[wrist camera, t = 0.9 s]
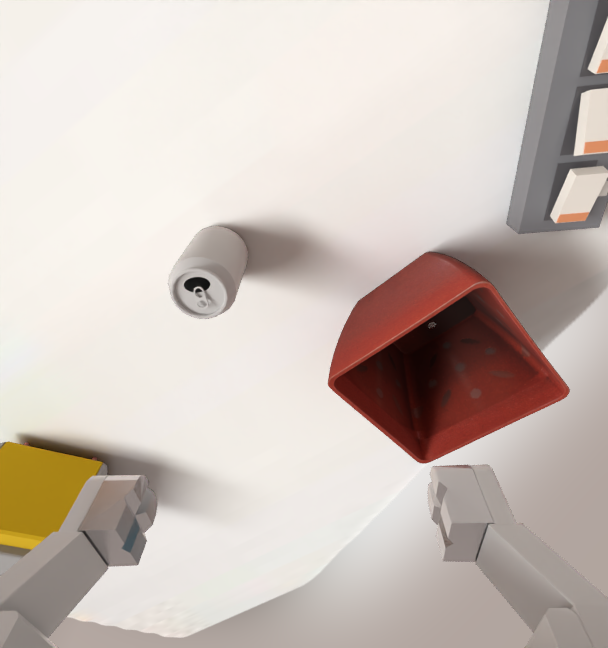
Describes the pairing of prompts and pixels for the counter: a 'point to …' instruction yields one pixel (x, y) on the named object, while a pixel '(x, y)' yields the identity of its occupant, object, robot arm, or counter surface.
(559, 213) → the rocker
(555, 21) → the rocker switch panel
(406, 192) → the counter surface
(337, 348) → the plant pot
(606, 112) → the rocker
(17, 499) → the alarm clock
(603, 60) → the block
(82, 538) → the robot arm
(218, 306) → the can
